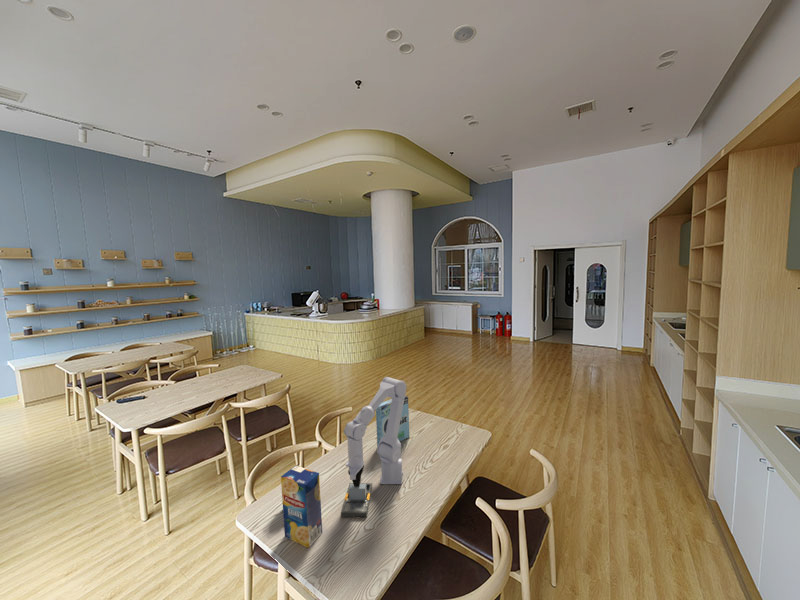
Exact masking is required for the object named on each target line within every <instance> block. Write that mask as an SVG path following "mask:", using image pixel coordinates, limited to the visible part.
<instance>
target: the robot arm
mask: <svg viewBox="0 0 800 600" xmlns="http://www.w3.org/2000/svg"><path fill="white" fill-rule="evenodd" d="M406 393H407V385H406V382H405V381H404V380H400V379H396V378H393V377H389V376H385V377H384V378H383V379H382V380H381V382H380V383H379V389H378V391H377V392H376V394H375V395H374V397H373V398H372V399H371V401H370V402H369V404H368V405H365V406H363V407H362V408H361V409H360V410H359V412H358V413H357V415H356V416H355V417H354V418H353V419H352V420H351V421H348V422H347V423H346V424H345V427H344V429H343V434H344V435H345V436H346V440H347V453H348V454H347V456H348V461H346V462H345V467H347V468H348V471H347V473H348V475H349V479H350V480H352V483H353V485H354V487H359V486H360V483H361V481H362V474H363V473H364V468H365V464H364V462H365V461H364V451H363V447H364V446H363V438H364V436H365V434H366V430H367V429H368V425H369V424H370V423H371V421H372V420H373V418H374V417H376V409H377V408H378V407H379V405H380V404H381V403H383V402H385V401H386V399H387V398H390V400H391V399H392V403H391V408H390V413H389V418H388V423H387V429H386V434H385V436H384V437H382V438H381V439H380V442H379V445H378V447H376V453H377V455H378V456H379V459H380V466H381V467H380V468H381V469H380V473H381V474H380V478H379V479H380V480H379V484H380V485H402V484H403V477H404V471H403V459H402V458H401V455H402V450H401V448H402V443H401V442H399V440H398V438H397V436H398V431H399V425H400V420H401V415H402V409H403V404H404V399H405V396H406Z"/></svg>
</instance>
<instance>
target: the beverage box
mask: <svg viewBox="0 0 800 600" xmlns="http://www.w3.org/2000/svg"><path fill="white" fill-rule="evenodd" d="M280 482H281V483H280V484H281V497H282V498H281V499H282V501H281V502H282V514H283V530H284V537H285V538H287V539H289V540H291V541H293V542H295V543H298V544H300V545H301V546H303V547H304V548H308V549H309V548H310V547H311V546H312V545H313V544H314V543H315V541H316V540H317V539H318V538H319V537H320V536H321V534H323V522H322V520H323V519H322V507H321V506H322V504H321V503H322V501H321V485H320V484H321V483H320V472H317V471H314V470H311V469H308V468H305V467H301V466H298V465H294V466H293V467H292V468H290V469H289V470H287V472H285V473H284V474H282V475H281V476H280Z"/></svg>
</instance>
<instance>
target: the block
mask: <svg viewBox="0 0 800 600" xmlns="http://www.w3.org/2000/svg"><path fill="white" fill-rule="evenodd" d="M349 484H350V483H349ZM348 487H349V486H348ZM349 499H350V501H366V500H367V487H366V484H360V486H359V487H354V485H353V484H350V487H349Z"/></svg>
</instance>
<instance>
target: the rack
mask: <svg viewBox="0 0 800 600" xmlns="http://www.w3.org/2000/svg"><path fill="white" fill-rule="evenodd" d="M350 484H353V482H349V484H348V487H347V491H346V493H345V496H344V499H343V500H344V501H343V504H342V507H341V511H340V518H367V517H368V514H369V513H368V512H369V509H370V508H369V507H370V503H371V496H372V492H373V482H360V484H366V487H367V500H366V501H350V499H349V487H350Z"/></svg>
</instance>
